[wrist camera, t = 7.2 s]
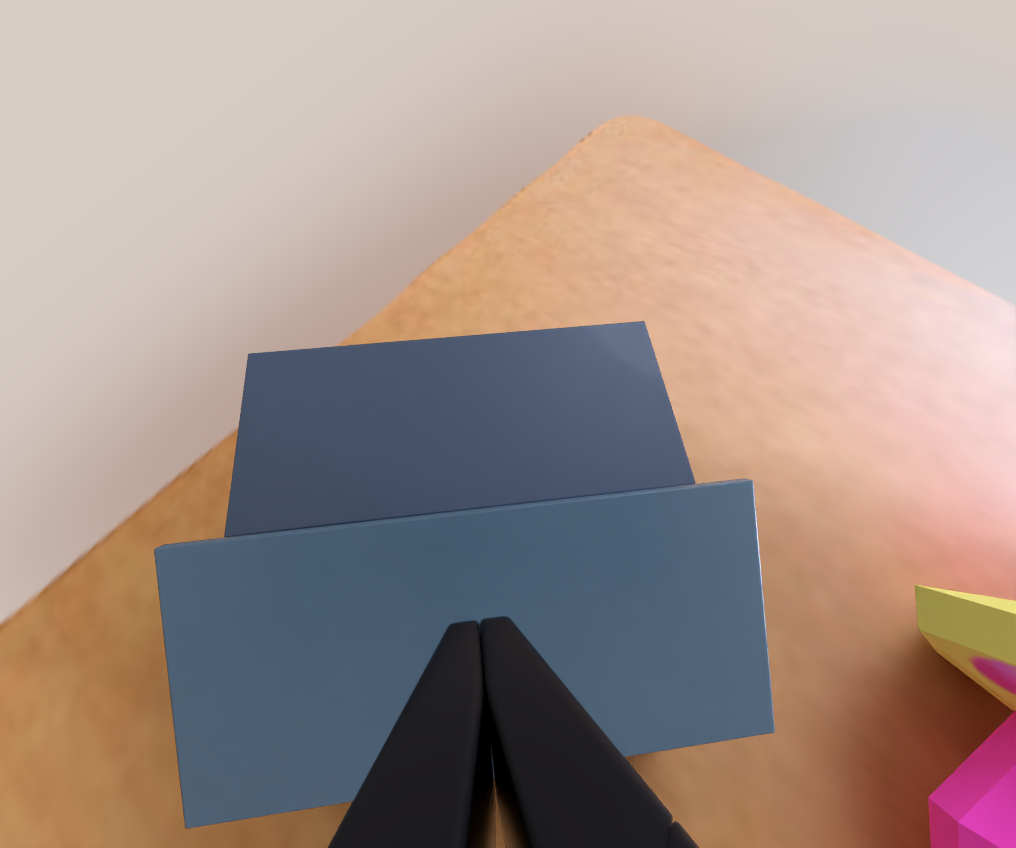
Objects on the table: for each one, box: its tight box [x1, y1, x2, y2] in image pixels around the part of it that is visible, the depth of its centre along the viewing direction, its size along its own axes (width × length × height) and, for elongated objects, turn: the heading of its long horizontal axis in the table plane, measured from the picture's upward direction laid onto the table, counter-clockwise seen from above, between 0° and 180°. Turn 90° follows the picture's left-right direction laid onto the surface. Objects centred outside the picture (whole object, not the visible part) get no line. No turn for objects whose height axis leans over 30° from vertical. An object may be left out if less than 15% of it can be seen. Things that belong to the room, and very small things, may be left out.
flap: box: [154, 479, 775, 828], centre depth 11 cm, size 6×13×1 cm, turn 99°
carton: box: [224, 321, 695, 537], centre depth 17 cm, size 12×13×8 cm
